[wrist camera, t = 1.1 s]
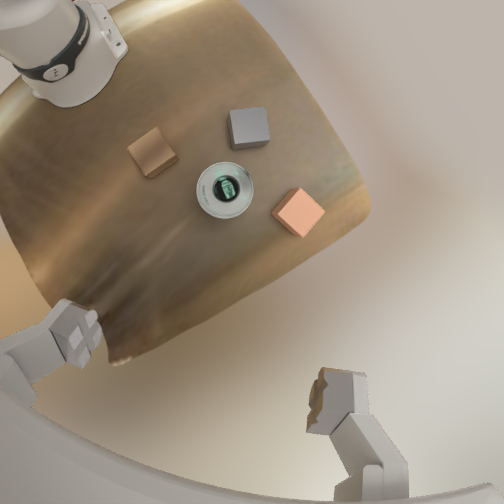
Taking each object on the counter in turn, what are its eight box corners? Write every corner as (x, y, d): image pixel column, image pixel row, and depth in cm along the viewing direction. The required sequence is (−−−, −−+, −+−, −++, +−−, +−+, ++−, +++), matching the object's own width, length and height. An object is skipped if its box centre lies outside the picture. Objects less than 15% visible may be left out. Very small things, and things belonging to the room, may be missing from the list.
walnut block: (135, 153, 42) (126, 147, 37) (161, 134, 42) (156, 126, 37) (151, 178, 43) (145, 176, 38) (178, 159, 43) (175, 154, 39)
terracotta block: (270, 213, 47) (277, 214, 42) (291, 189, 47) (300, 187, 42) (293, 234, 48) (303, 237, 43) (313, 210, 48) (325, 211, 43)
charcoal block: (227, 119, 43) (229, 110, 39) (259, 116, 44) (264, 106, 39) (231, 150, 44) (234, 143, 39) (264, 146, 45) (270, 139, 40)
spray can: (215, 170, 44) (220, 144, 25) (244, 191, 45) (271, 182, 26) (193, 199, 45) (182, 195, 25) (222, 221, 46) (233, 233, 26)
